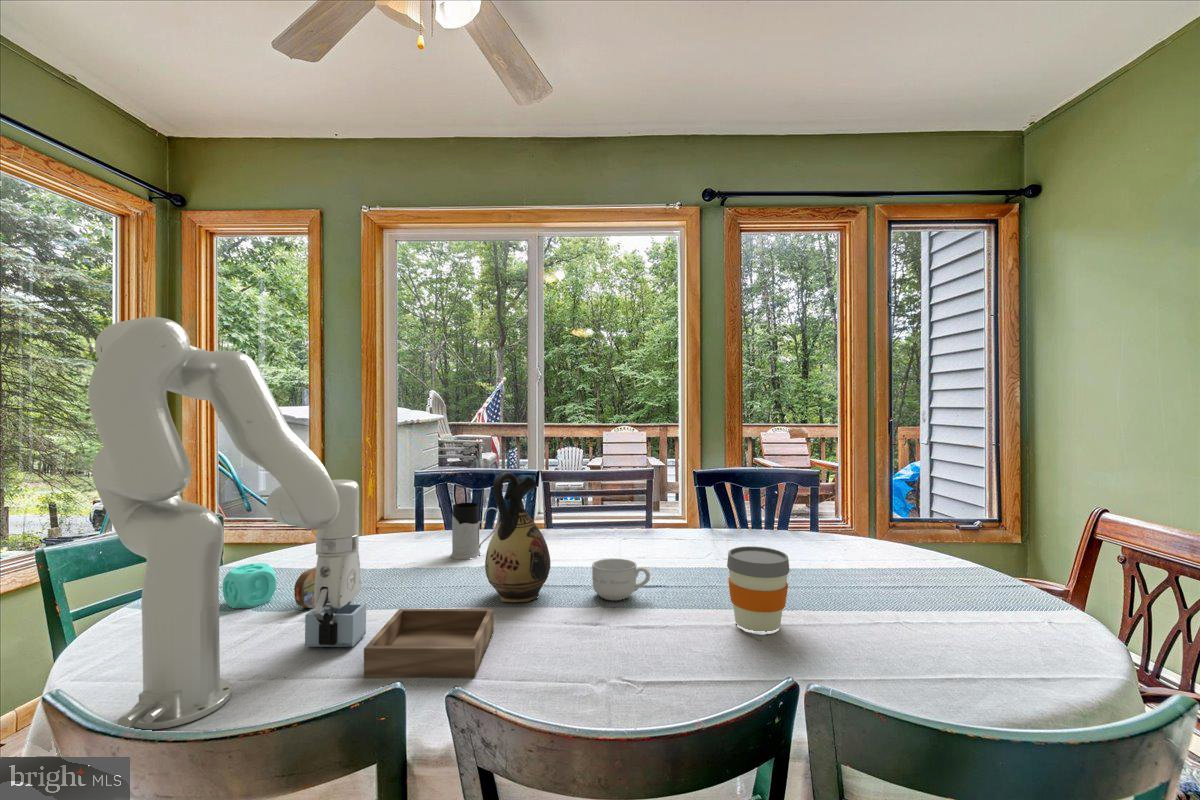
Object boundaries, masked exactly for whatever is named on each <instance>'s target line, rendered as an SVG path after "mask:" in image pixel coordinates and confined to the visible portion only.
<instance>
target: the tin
mask: <svg viewBox="0 0 1200 800" xmlns="http://www.w3.org/2000/svg"><path fill="white" fill-rule="evenodd" d="M315 575H316V566H314V567H311V568H310V569H307V570H305V571H303V572H302V573H300V575H299V576H298V578H297V579H296V582H295V584H294V587H293V588H294V592H293V593H294V600H295V603H296V604H297V606H299V607H300V608H305V609H314V608H315V607H316V606H315V599H314V591H315Z"/></svg>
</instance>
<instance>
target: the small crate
mask: <svg viewBox="0 0 1200 800" xmlns="http://www.w3.org/2000/svg"><path fill="white" fill-rule="evenodd" d="M326 606H332V605H331V603H327V604H326ZM314 609H315V608H311V610H310V611H309V612H307V613H306V614H304V615H305V617H304V620H305V621H304V623H305V624H304V627H305V628H304V629H305V630H304V647H313V648H315V647H318V648H319V647H320V648H321V647H325V648H326V647H327V648H328V647H329V648H330V647H331V648H342V647H343V648H353V647H354V646H355V645H356V644H357V643H359V641H360V640H361V639H362V638H363V637H364V636H365V635H366V634H367V603H355V602H354V603H347V604H346V605H345V606H343V607H342V608H340V609H337V613H336V619H335V623H337V643H336V644H335V645H320V644H319V625H318V620H317V618H316V616H315V615H314ZM331 611H332V610H325V612H326V613H328V614H329V615H330V616H331Z"/></svg>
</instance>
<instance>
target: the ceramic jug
mask: <svg viewBox="0 0 1200 800" xmlns="http://www.w3.org/2000/svg"><path fill="white" fill-rule="evenodd" d="M507 481H508V482H509V487H508V489H507V491H506V494H505V496H504V494H503V491H502V487H503V486H502V485H503V484H504V483H505V482H507ZM537 486H538V485H537V482H536V480H534V478H532V477H530V476H527V475H526V476H525V477H521V476H518V477H517V476H516V475H515V474H513V473H512V472H510V471H509V472H507V471H503V472H500V473H498V474H496V476H495V477H494V479H493V484H492V491H493V497H494V499H495V503H496V505H497V510H498V512H499V520H500V522H499V523H498V526H497V528H496V530H495V532H494V533H493V534H492V535H491V539H490V541H489V543H488V546H487V549H486V553H485V554H486V555H485V559H484V561H485V562H484V570H485V575H486V578H487V581H488V583H489V584H490V585H491V587H492V588H494V590H495V591H496V592H497V594H498V595H499V599H500V601H501V600H502V601H501V602H503V603H527V602H528V603H529V602H531V600H532V601H534V599H535V600H537V599H536V598H537V597H538V596H539V597H540V595H539V593H540V591H541V590H542V587H543V585H544V584H545V583H546V582H547V579H548V578H549V573H550V572H551V571H550V570H551V556H550V551H549V547H548V544H547V541H546V539H545V537H544V536H543V533H542V531H541V530H540V529H539V527H538V525H537V524H536V522H535V521H534V520H533V518H532V517H531V516H530V515H529V514H528V512H527V510H526V508H525V506H524V503H523V498H524V497H525V496H526V495H527V494H528V493H530V492H531V491H532V490H534V489H535V488H536V487H537ZM506 500H507V501H509V502H508V507H507V506H506V505H507V504H506Z"/></svg>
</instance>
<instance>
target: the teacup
mask: <svg viewBox="0 0 1200 800" xmlns="http://www.w3.org/2000/svg"><path fill="white" fill-rule="evenodd" d="M637 566H638V564H637V563H636V561H632V560H630V559H626V558H625V559H624V558H605V559H603V558H602V559H598V560H596V561H593V562H592V564H591V568H592V587H593V590H594V592H595V593H596V594H597V595H598V596H600V597H601V599H603V598H604V600H606V601H607V600H608V601H623V600H626V599H628V598H629V597H630V596H631V595H632V594H634V592H637V591H638V590H639V588H641V587H644V586H645V585H647V583H648V582H649V581H650V579H651V573H650V571H649V569H648V568H647V567H645V566H639V567H637ZM640 572H643V573H644V574H645V579H644V580H642V581H640V582H637V577H638V576H639V573H640ZM625 598H626V599H625ZM622 599H623V600H622Z"/></svg>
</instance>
